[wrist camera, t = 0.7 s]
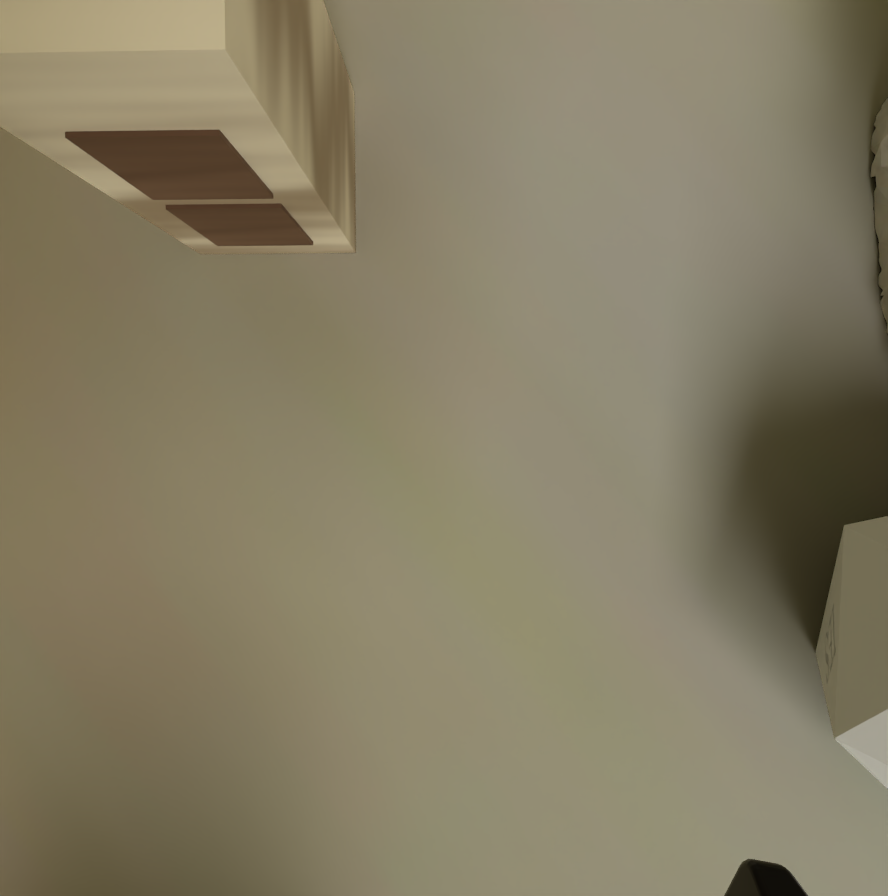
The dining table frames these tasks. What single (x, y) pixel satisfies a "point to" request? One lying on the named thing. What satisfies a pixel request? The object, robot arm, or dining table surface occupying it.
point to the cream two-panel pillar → (192, 114)
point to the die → (858, 645)
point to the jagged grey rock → (881, 198)
